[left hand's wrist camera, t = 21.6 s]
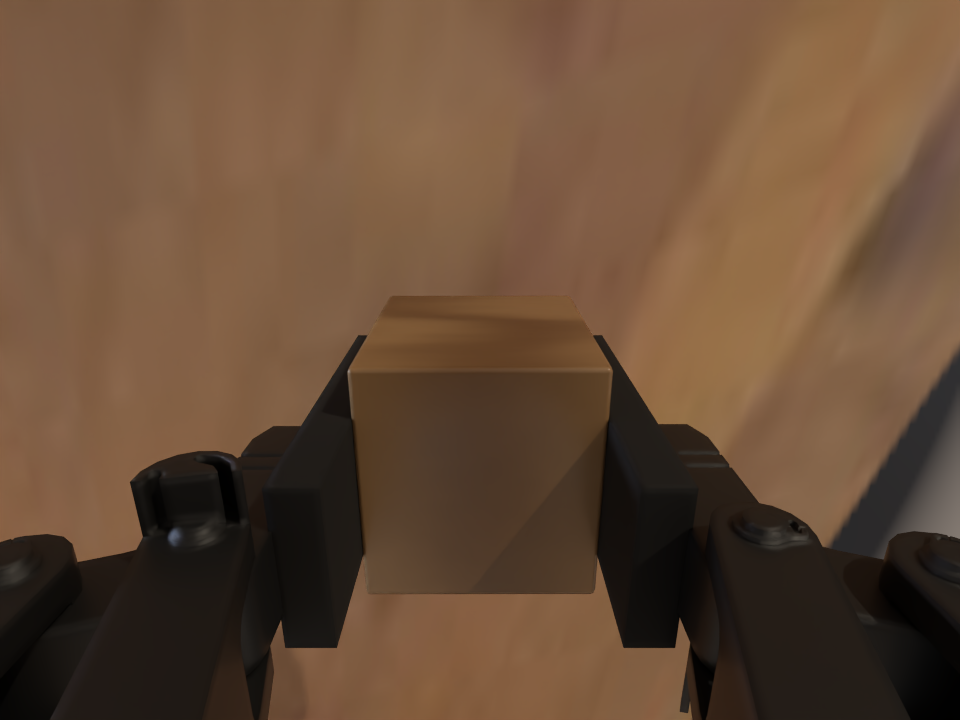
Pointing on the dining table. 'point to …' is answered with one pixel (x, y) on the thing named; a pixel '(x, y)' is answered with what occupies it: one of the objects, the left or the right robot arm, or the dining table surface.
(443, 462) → the block
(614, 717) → the dining table surface
